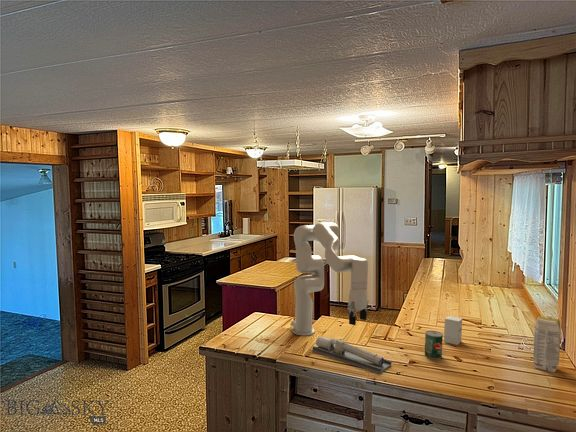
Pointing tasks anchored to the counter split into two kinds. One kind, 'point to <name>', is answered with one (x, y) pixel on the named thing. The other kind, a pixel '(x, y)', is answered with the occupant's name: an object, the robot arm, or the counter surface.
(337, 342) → the white electric toothbrush
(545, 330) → the juice carton
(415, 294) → the counter surface
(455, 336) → the supplement box
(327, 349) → the pipe jig board
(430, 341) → the canned tomato
